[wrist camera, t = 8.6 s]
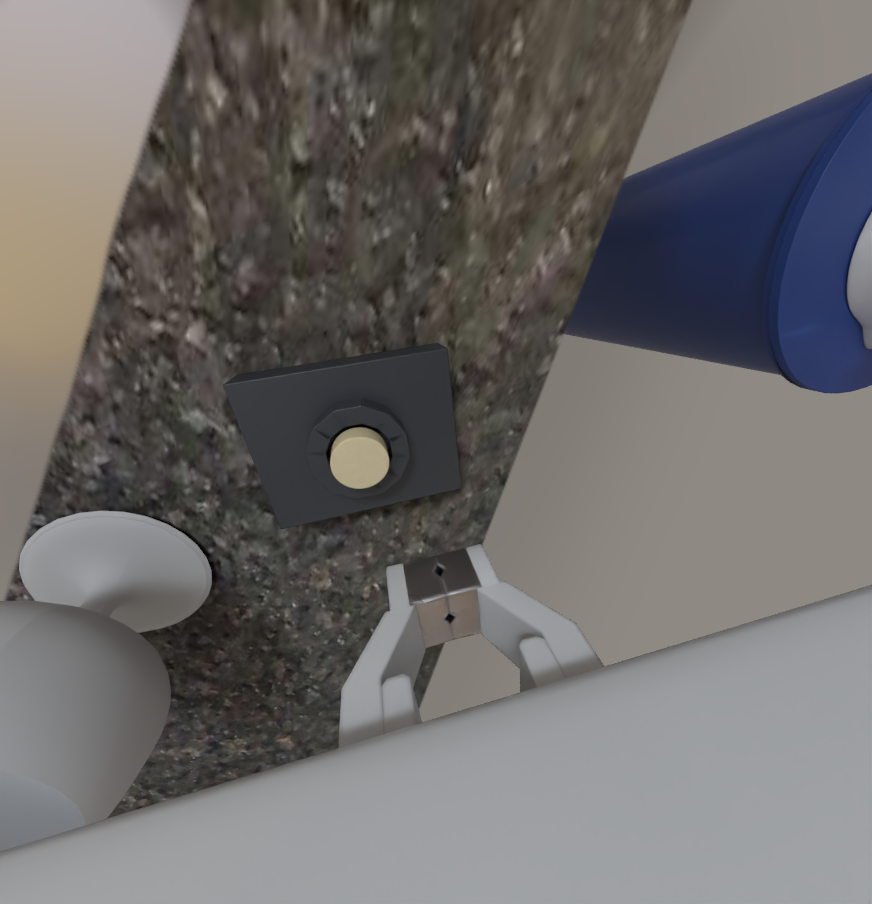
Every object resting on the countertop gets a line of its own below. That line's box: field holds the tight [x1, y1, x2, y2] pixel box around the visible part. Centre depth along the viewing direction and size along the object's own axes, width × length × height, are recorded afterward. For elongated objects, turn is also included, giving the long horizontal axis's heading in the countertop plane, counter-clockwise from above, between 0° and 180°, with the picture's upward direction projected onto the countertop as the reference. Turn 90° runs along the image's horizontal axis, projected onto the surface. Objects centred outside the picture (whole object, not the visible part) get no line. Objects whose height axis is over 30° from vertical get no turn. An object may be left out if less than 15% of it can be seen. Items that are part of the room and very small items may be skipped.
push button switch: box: [330, 427, 389, 489], centre depth 22 cm, size 4×4×2 cm
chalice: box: [0, 511, 212, 851], centre depth 20 cm, size 14×14×15 cm
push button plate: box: [223, 343, 461, 529], centre depth 24 cm, size 14×11×4 cm
